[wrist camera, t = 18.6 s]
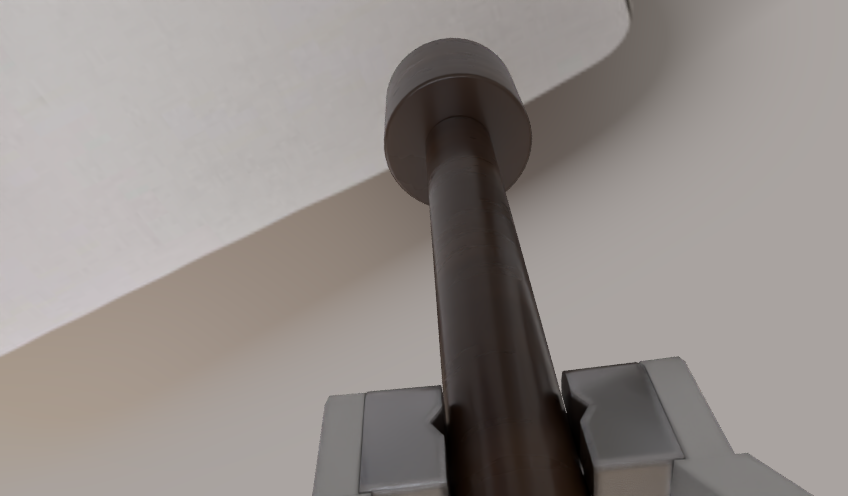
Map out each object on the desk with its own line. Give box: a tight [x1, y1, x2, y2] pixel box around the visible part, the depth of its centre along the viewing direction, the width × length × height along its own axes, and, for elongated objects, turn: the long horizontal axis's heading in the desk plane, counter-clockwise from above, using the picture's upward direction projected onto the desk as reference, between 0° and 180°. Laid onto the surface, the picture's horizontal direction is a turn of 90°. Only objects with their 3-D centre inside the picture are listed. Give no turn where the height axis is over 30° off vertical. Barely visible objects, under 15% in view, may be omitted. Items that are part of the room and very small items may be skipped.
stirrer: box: [384, 38, 589, 496], centre depth 13 cm, size 4×4×15 cm
